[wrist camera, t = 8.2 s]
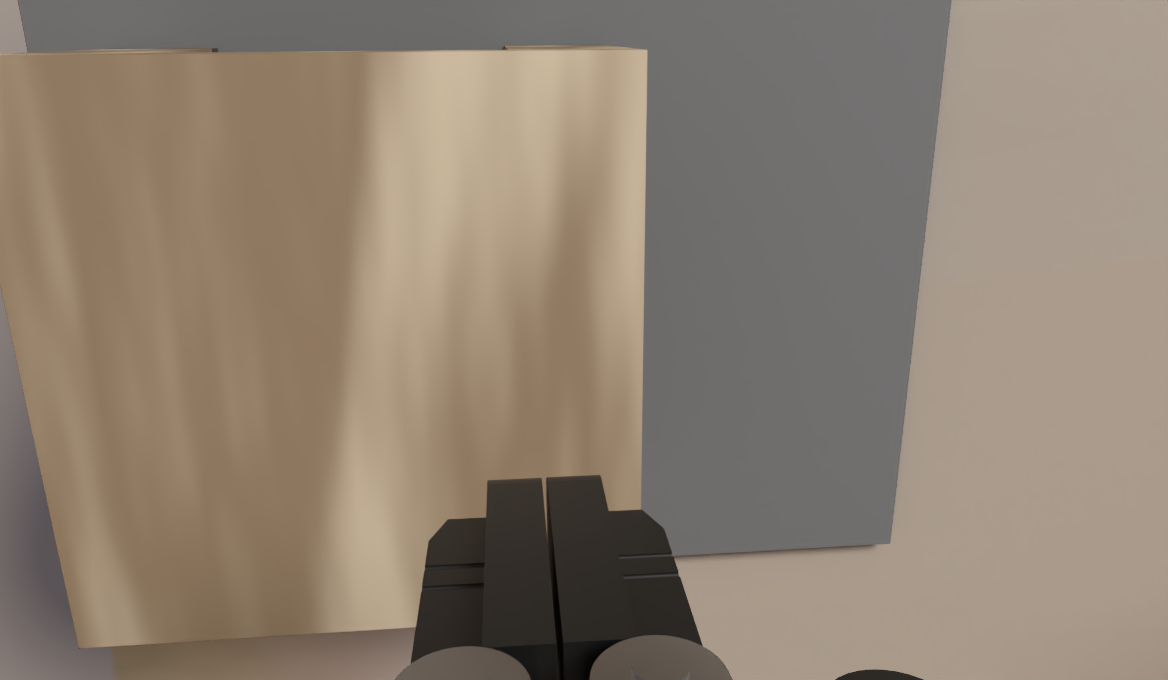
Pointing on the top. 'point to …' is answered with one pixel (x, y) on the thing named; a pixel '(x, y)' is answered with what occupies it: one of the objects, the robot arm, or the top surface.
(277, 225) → the stool
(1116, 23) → the top surface
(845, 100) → the mat
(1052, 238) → the top surface
